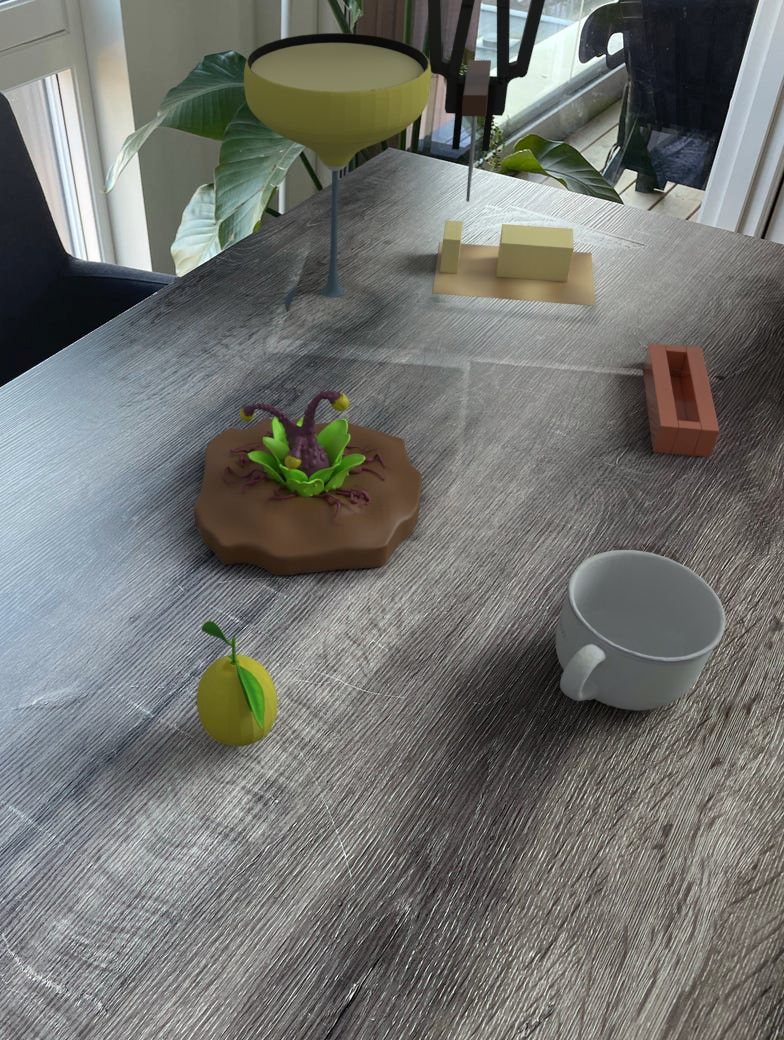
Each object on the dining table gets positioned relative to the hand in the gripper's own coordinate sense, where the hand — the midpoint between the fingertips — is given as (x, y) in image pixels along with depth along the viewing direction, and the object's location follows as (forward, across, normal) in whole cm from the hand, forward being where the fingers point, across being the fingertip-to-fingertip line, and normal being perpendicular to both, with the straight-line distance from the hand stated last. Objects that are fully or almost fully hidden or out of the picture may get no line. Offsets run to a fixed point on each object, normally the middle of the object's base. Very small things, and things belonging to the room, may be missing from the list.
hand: (470, 145), depth 111 cm
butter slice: (+13, -1, 0) cm, 13 cm away
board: (+15, +6, -1) cm, 16 cm away
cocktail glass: (+15, -14, -9) cm, 22 cm away
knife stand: (+15, +22, -26) cm, 37 cm away
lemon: (+15, -12, -72) cm, 74 cm away
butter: (+13, +8, 0) cm, 16 cm away
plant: (+15, -11, -45) cm, 49 cm away
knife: (+4, 0, 0) cm, 4 cm away
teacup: (+15, +14, -63) cm, 66 cm away
